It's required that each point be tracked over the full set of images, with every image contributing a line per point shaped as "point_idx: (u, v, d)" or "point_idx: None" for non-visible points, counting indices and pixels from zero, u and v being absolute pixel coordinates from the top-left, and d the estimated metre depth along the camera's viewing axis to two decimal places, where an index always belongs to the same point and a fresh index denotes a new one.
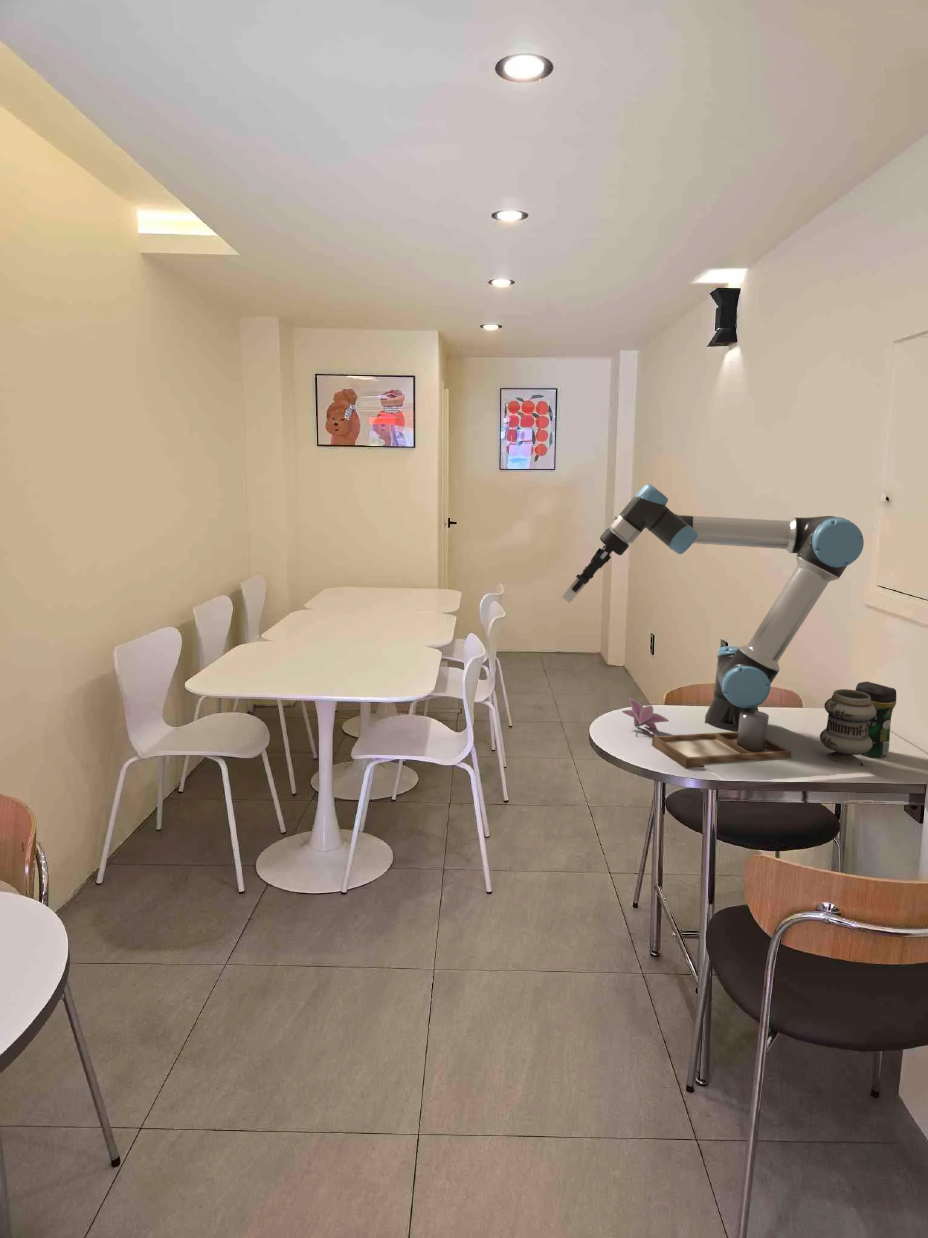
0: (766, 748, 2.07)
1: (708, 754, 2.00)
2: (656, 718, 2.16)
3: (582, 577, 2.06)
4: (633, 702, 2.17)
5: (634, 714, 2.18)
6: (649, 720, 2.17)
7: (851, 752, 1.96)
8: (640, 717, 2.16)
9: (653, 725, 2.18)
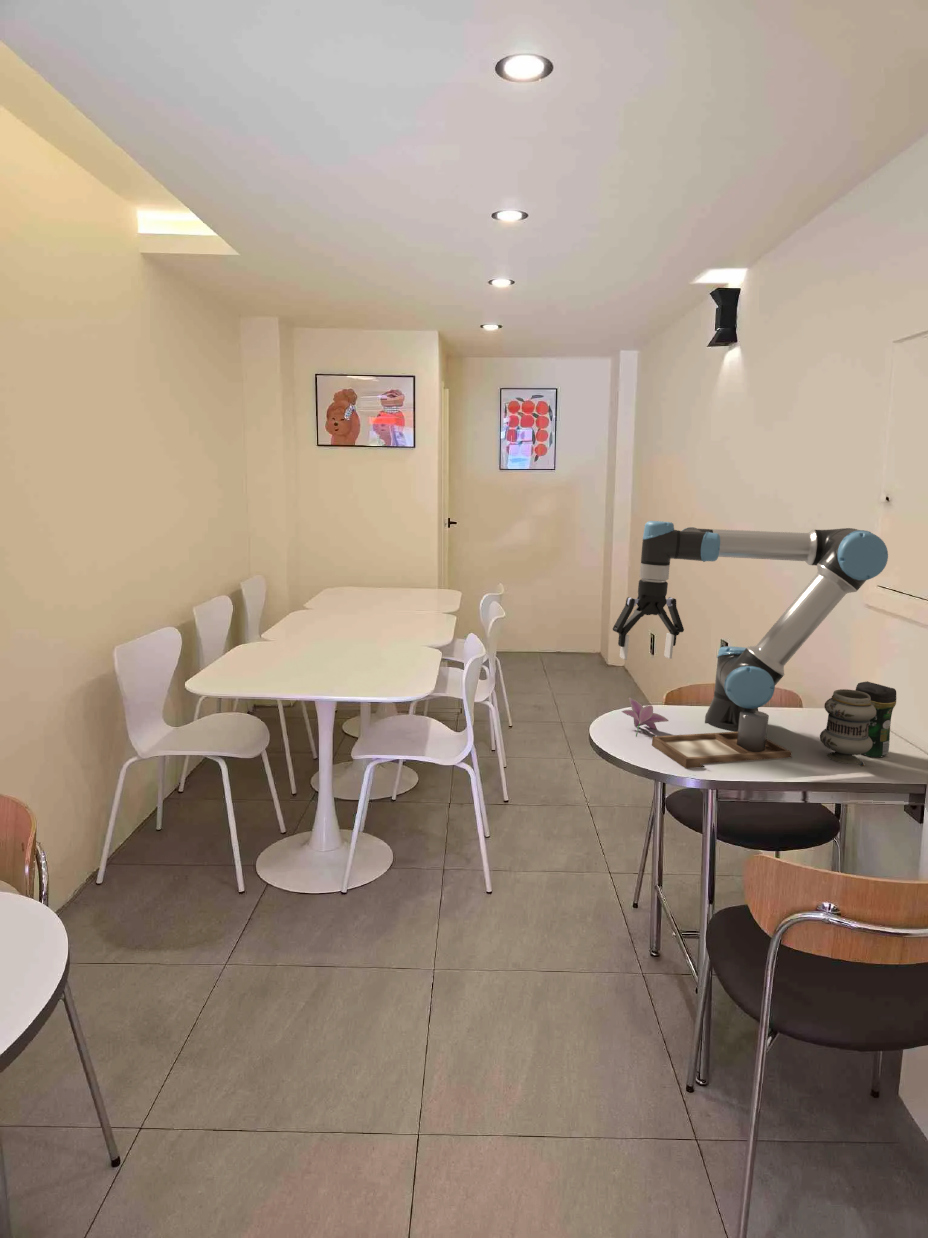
0: (766, 748, 2.07)
1: (708, 754, 2.00)
2: (655, 718, 2.16)
3: (613, 629, 2.11)
4: (633, 702, 2.17)
5: (634, 714, 2.19)
6: (649, 720, 2.17)
7: (851, 752, 1.96)
8: (640, 717, 2.17)
9: (653, 725, 2.18)
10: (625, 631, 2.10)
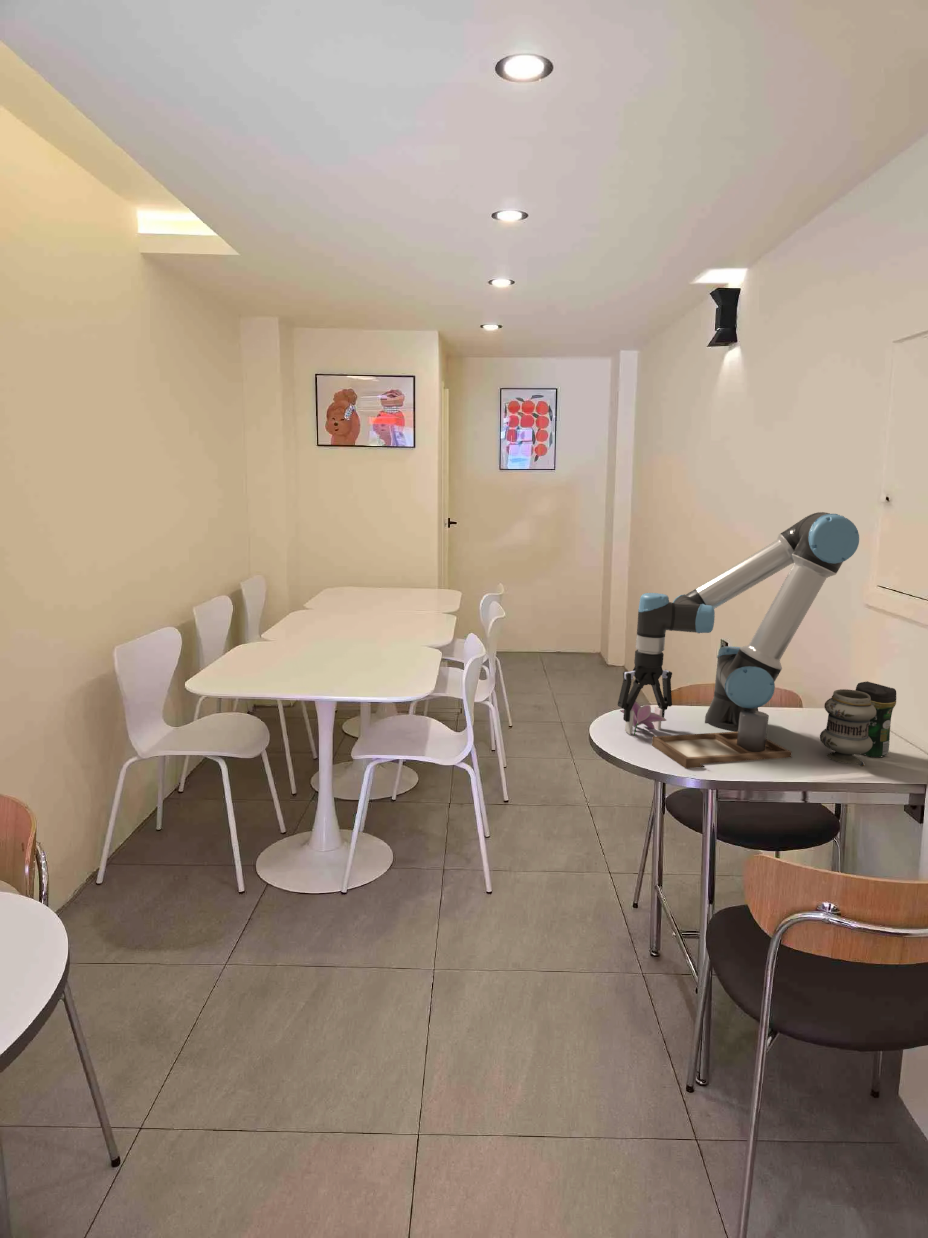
0: (766, 748, 2.07)
1: (708, 754, 2.00)
2: (653, 718, 2.17)
3: (618, 705, 2.15)
4: None
5: None
6: (647, 719, 2.17)
7: (851, 752, 1.96)
8: (638, 716, 2.17)
9: (651, 724, 2.19)
10: (629, 707, 2.14)
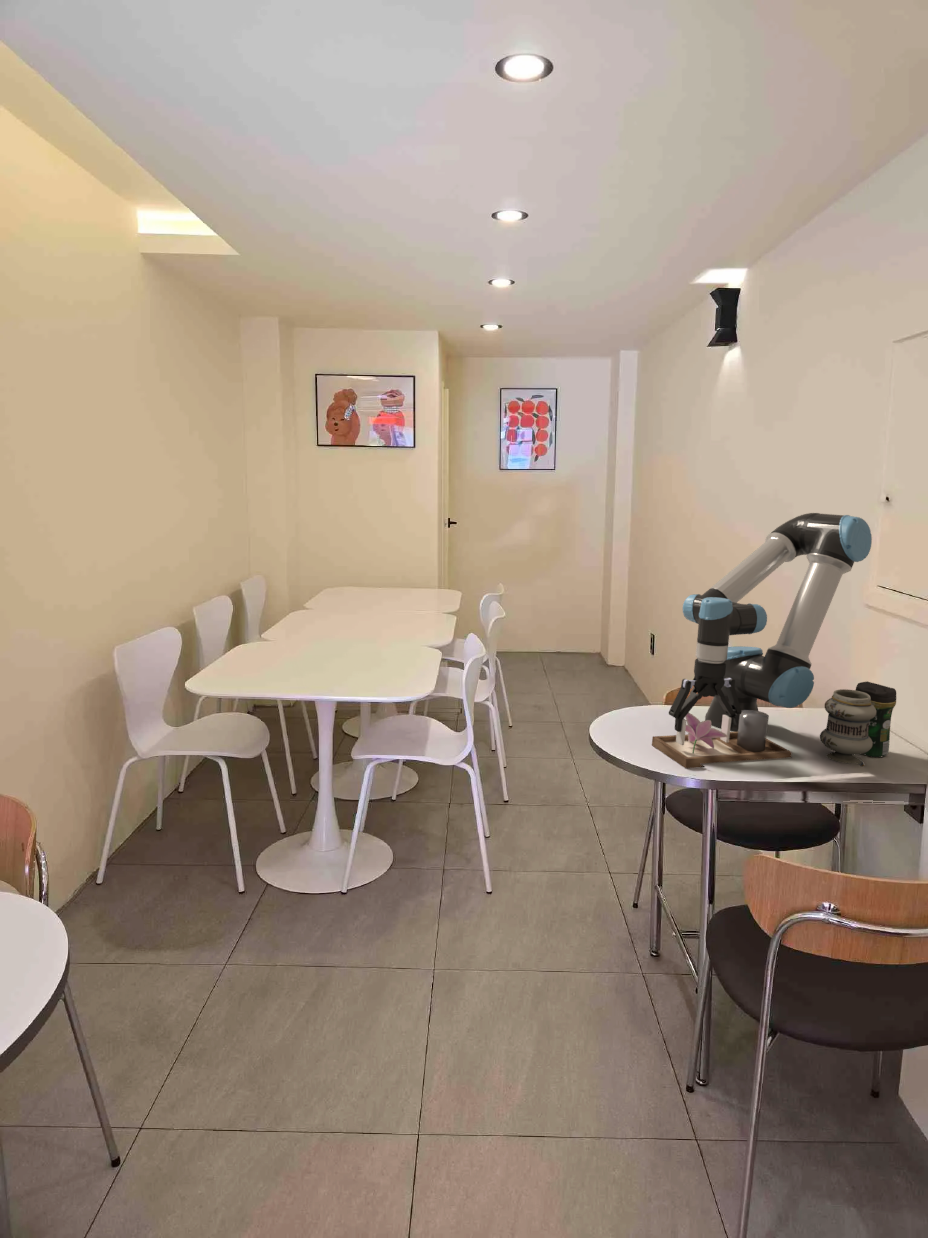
0: (766, 748, 2.07)
1: (708, 754, 2.00)
2: (713, 734, 2.01)
3: (670, 713, 1.99)
4: (689, 716, 2.02)
5: (689, 729, 2.03)
6: (706, 735, 2.02)
7: (851, 752, 1.96)
8: (697, 732, 2.01)
9: (710, 741, 2.03)
10: (682, 716, 1.98)
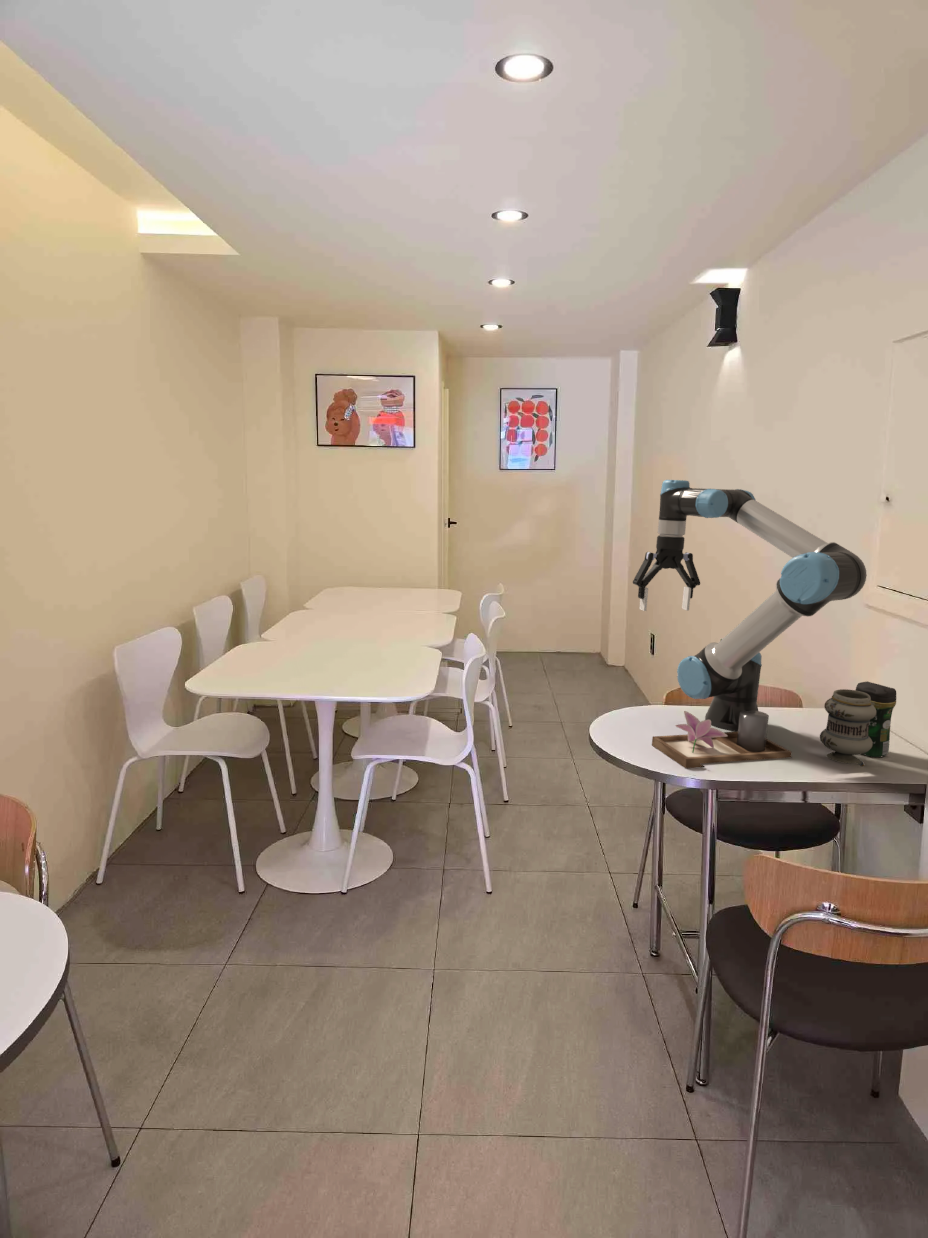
0: (766, 748, 2.07)
1: (708, 754, 2.00)
2: (713, 733, 2.02)
3: (633, 582, 2.24)
4: (689, 716, 2.02)
5: (689, 728, 2.04)
6: (706, 735, 2.02)
7: (851, 752, 1.96)
8: (696, 732, 2.02)
9: (710, 740, 2.04)
10: (644, 584, 2.23)
